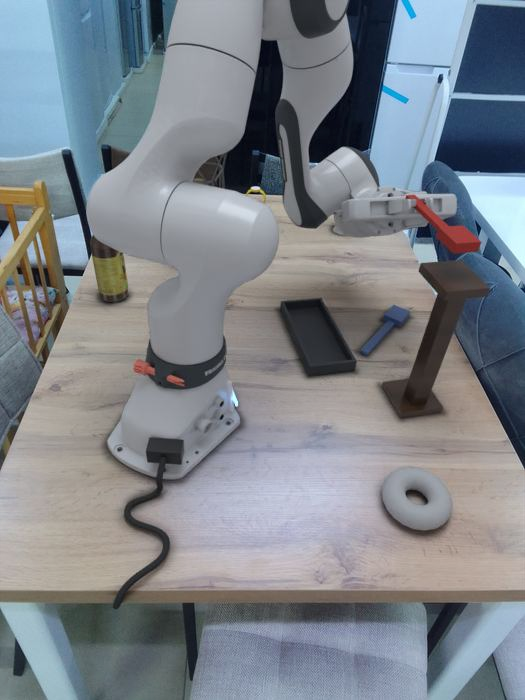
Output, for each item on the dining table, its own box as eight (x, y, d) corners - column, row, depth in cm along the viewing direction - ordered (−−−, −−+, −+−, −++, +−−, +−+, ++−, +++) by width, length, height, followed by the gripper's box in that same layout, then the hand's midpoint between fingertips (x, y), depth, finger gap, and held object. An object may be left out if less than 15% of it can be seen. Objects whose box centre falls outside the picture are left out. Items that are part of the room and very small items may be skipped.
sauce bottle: (133, 298, 110) (122, 212, 97) (105, 306, 107) (90, 219, 94) (122, 284, 114) (110, 200, 101) (95, 291, 111) (79, 206, 98)
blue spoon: (392, 310, 112) (393, 304, 111) (408, 317, 110) (410, 311, 109) (354, 350, 100) (355, 344, 99) (372, 358, 99) (373, 352, 98)
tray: (354, 370, 96) (356, 361, 94) (308, 376, 94) (310, 366, 92) (319, 306, 111) (321, 297, 110) (279, 310, 109) (280, 301, 108)
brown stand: (381, 386, 93) (417, 263, 76) (420, 381, 95) (464, 259, 78) (400, 418, 87) (443, 292, 70) (441, 412, 89) (493, 287, 72)
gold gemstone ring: (265, 206, 150) (266, 187, 146) (264, 210, 147) (266, 190, 144) (245, 204, 150) (246, 185, 146) (244, 208, 148) (245, 189, 144)
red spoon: (478, 251, 72) (481, 241, 71) (452, 253, 71) (456, 243, 70) (420, 198, 85) (422, 189, 84) (398, 199, 84) (400, 190, 83)
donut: (457, 535, 71) (436, 475, 78) (465, 522, 68) (443, 461, 76) (387, 535, 70) (373, 474, 78) (393, 522, 68) (378, 461, 75)
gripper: (329, 196, 92) (360, 185, 78) (430, 192, 96) (476, 181, 83) (330, 232, 93) (361, 227, 80) (430, 226, 97) (476, 221, 84)
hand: (421, 204), depth 81 cm, fingers closed on red spoon, 2 cm apart
